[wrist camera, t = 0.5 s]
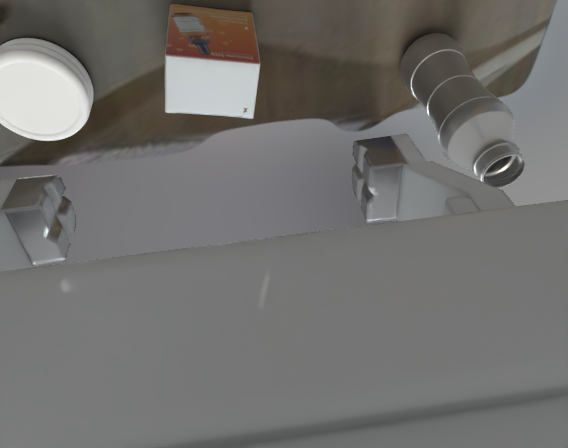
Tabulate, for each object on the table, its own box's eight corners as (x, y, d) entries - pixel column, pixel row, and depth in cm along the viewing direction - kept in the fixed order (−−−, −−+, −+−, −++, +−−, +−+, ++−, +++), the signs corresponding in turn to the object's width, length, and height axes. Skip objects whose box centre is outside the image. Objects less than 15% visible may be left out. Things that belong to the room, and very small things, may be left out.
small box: (253, 11, 48) (263, 63, 41) (246, 64, 52) (255, 120, 44) (168, 1, 46) (164, 53, 39) (168, 57, 50) (164, 114, 43)
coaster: (114, 92, 52) (110, 110, 50) (50, 139, 55) (43, 158, 53) (33, 15, 46) (24, 31, 43) (-35, 73, 49) (-47, 91, 46)
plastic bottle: (466, 41, 53) (562, 154, 39) (425, 92, 57) (499, 210, 43) (422, 14, 50) (509, 126, 36) (382, 69, 54) (447, 188, 40)
